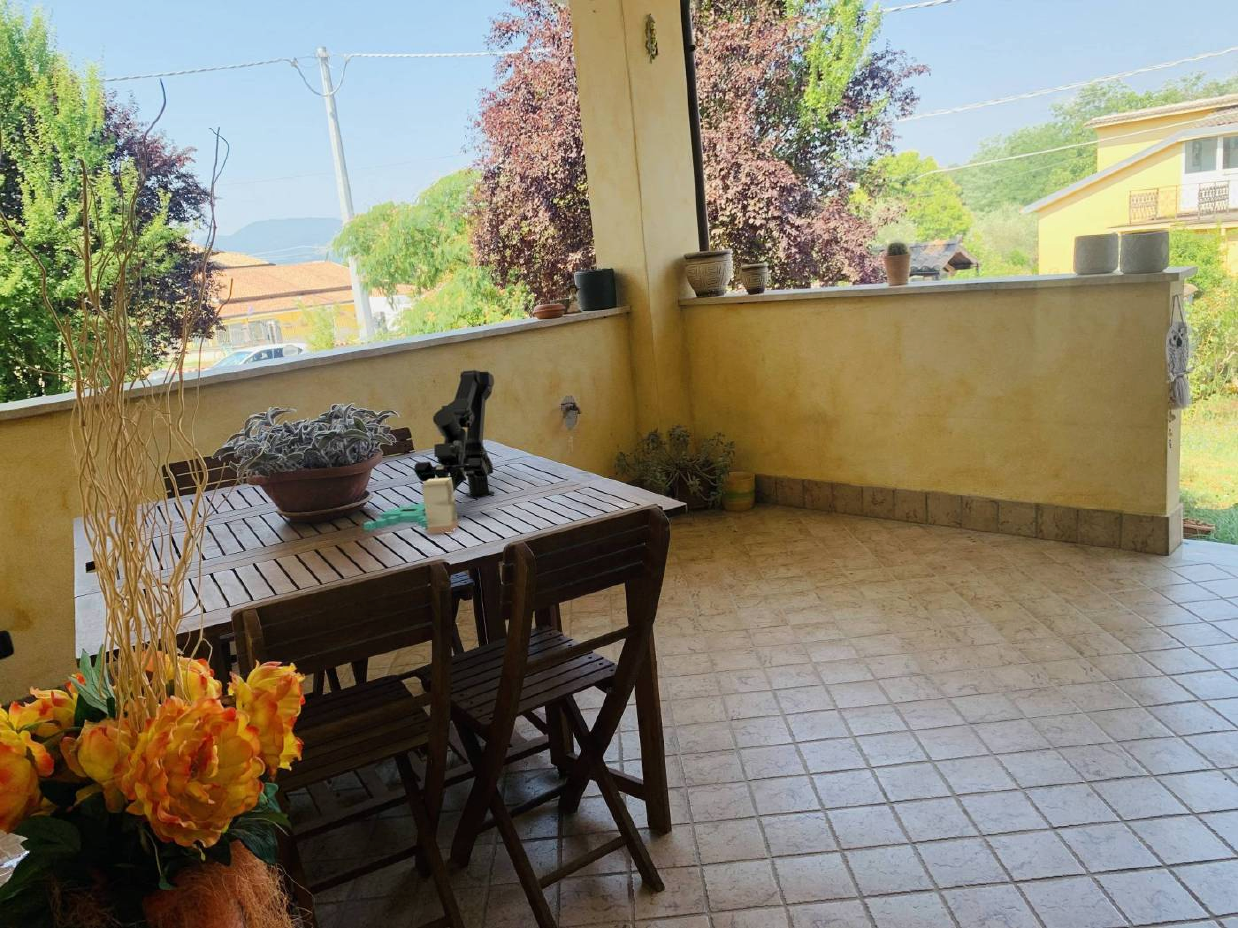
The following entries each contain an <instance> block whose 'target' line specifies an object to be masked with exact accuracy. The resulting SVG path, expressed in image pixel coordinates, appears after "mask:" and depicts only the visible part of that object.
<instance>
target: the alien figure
mask: <svg viewBox="0 0 1238 928" xmlns="http://www.w3.org/2000/svg"><path fill="white" fill-rule="evenodd" d="M400 523H417V525H419V526H421V528H424V529H425V530H428V526H427V519H426V513H425V506H424V501H423V502H420V503H417V504H410V505H408V506H400V507H398V508H396V509H387V510H385V511H384V512H382V513H381V514H380V518H378V519H377V520H375V521H373V520H372V521H366V522H364V523H363V527H364V531H373V530H375V529H377V528H378V529H379V528H386V527H387V526H396V525H398V524H400Z"/></svg>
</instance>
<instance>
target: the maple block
mask: <svg viewBox="0 0 1238 928" xmlns="http://www.w3.org/2000/svg"><path fill="white" fill-rule="evenodd" d="M421 491H422V498H423V502H424V506H425V513H426V519H427V526H428V535H437V534H436V533H444V532H452V531H453V529H454V528H456V527H457V526H458V525H459V520H458V513H457V506H456V498H455V491H453V484H452V477H451V478H450V477H449V478H438V477H437V478H436V477H435V479H428V480H427V481H423V483H421ZM458 527H459V526H458ZM458 527H457V528H458ZM457 528H456V529H457ZM453 532H454V531H453ZM453 532H452V533H453Z"/></svg>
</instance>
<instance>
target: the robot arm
mask: <svg viewBox="0 0 1238 928" xmlns="http://www.w3.org/2000/svg"><path fill="white" fill-rule="evenodd" d="M494 379H495V377H494V375H493V374H492V373H490V372H489V371H488V370H486V371H479V370H476V369H473V370H463V371H461V372H460V379H459V384H458V387H457V391H456V394H455V397H454V399H453V401H452V402H449V404H447V405H442V406H441V409H439V410H438V411H437V412H435V414H434V415H433V416H432V421H433V424H434V425H435V427H436V428H437V430H438V432H439V433H440V435H441V436H442V437H444V440H443V443H435V444H434V446H433V448H434V450H433V451H434V455H433V456H434V458H437V460H436V461H437V463H439V464H435V465H434V466H433V465H432V463H431V462H430V461H420V462H416V463H415V464H414V467H413V472H414V473H415V475H416V476H417V478H418V479H419V480H420V482H426V481H427V480H428V479H436V477H437V478H451V477H452V484H453V491H454V492H455V491H456V490H457V489H458V488H459V486H460V485H461V484H462V483H463V482H466V481H467V483H468V490H469V492H466V493H464V495H465V496H467V497H470V498H473V499H478V498H481V497H485V496H489V495H494V494H495V491H493V490H490V488H489V487H490V486H489V480H488V479H489V478H488V476H490V475H491V474H493V473H494V465H493V462H492V461H491V459H490V457H489V454H488V452H487V450H486V448H485V446H484V445H483V443H484V430H485V429H484V428H485V427H484V426H485V416H486V414H485V413H486V402H487V400H488V399H489V398H490V396H491V395H492V393H493V387H494V386H495V380H494ZM465 428H466V429H467V431H466V430H465Z"/></svg>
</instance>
